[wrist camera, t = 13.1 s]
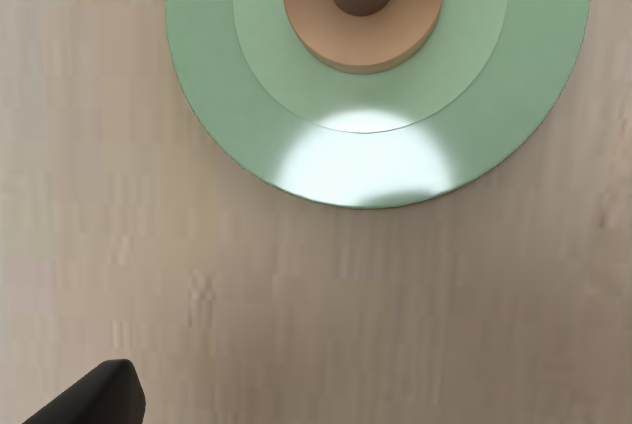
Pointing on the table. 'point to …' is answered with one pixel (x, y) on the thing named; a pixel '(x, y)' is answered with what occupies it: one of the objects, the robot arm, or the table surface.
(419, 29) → the strawberry fork
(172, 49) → the plate
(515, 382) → the table surface
